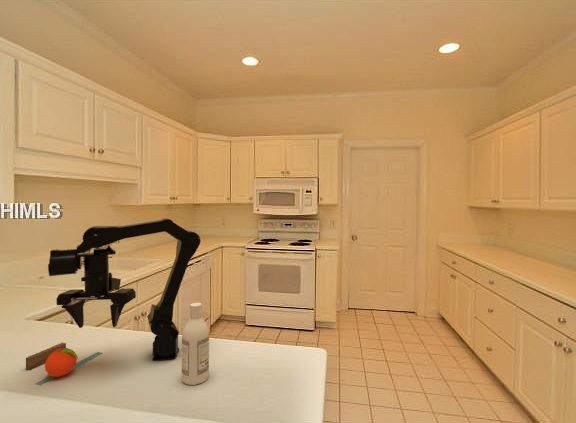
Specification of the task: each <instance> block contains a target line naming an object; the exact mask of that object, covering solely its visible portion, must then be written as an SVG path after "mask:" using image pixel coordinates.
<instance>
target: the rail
mask: <svg viewBox="0 0 576 423" xmlns="http://www.w3.org/2000/svg"><path fill="white" fill-rule="evenodd" d="M61 348H67V342H61V343H57V344H56V345H53V346H51V347H49V348H46V349H43V350H41V351H38V352H36V353H34V354H32V355H30V356H27V357H25V371H32V370H34V369H37V368H38V367H41V366H43V365H45V363H46V360H47V358H48V357H49V356H50V355H51V354H52V353H53V352H54V351H56V350H58V349H61Z"/></svg>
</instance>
